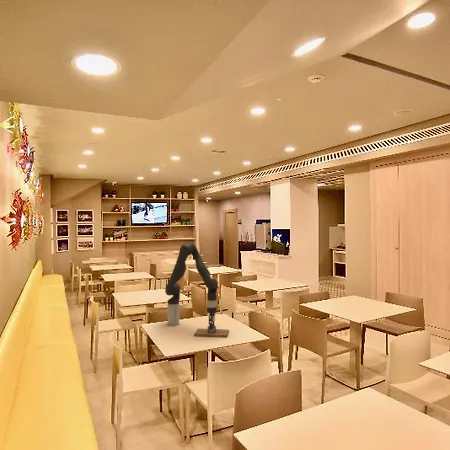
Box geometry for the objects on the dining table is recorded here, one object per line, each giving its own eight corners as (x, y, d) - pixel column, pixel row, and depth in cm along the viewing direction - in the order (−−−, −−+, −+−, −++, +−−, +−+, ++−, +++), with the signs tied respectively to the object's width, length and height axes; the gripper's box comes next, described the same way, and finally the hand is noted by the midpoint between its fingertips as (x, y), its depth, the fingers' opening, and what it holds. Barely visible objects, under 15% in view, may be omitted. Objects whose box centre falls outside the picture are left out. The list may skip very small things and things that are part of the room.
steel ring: (208, 330, 270) (208, 325, 270) (216, 330, 269) (216, 325, 269) (207, 332, 264) (207, 327, 264) (215, 333, 263) (215, 327, 263)
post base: (197, 330, 275) (197, 323, 275) (229, 331, 272) (229, 324, 272) (194, 336, 261) (194, 328, 261) (226, 337, 258) (226, 329, 258)
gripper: (208, 303, 274) (208, 324, 274) (205, 308, 260) (205, 330, 260) (218, 303, 273) (218, 325, 273) (215, 308, 259) (215, 330, 259)
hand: (211, 327), depth 266 cm, fingers open, 8 cm apart
